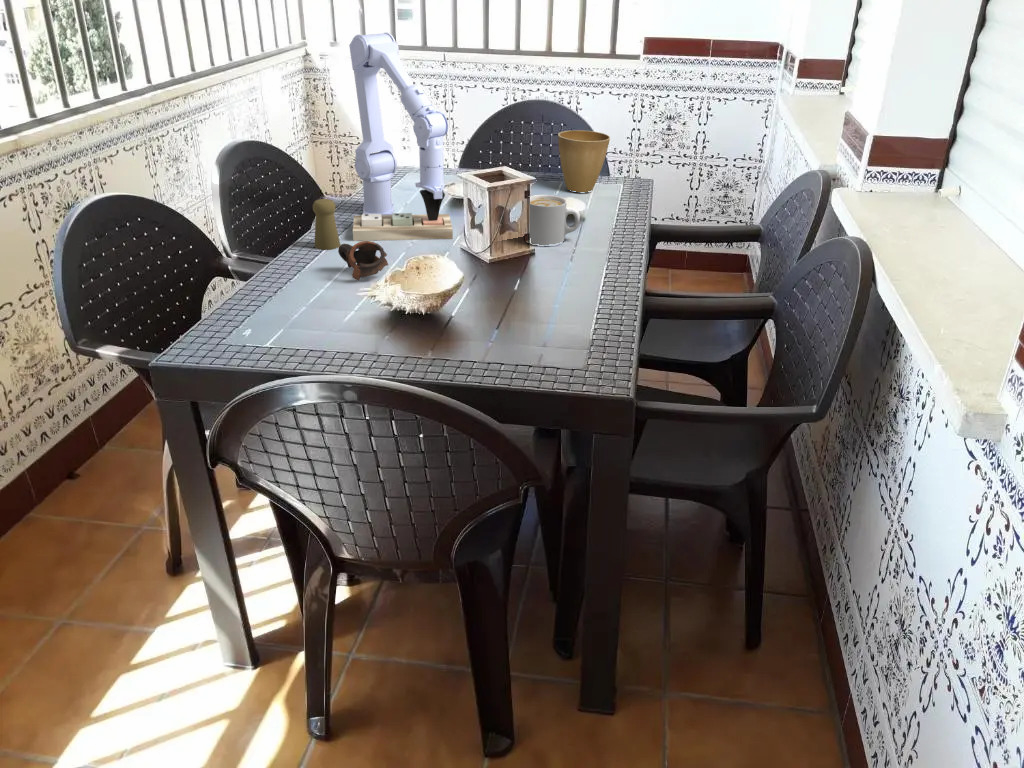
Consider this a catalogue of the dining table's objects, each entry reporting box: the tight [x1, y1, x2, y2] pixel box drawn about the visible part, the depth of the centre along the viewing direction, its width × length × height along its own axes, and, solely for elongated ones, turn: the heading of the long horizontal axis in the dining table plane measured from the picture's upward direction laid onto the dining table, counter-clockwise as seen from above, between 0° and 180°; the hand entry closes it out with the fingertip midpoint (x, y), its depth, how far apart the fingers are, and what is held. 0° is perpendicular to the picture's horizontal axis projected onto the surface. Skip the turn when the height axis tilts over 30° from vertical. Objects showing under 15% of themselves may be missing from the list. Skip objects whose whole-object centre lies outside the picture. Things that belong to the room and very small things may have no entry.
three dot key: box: [392, 212, 413, 226], centre depth 204 cm, size 5×5×3 cm
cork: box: [312, 198, 341, 251], centre depth 192 cm, size 6×6×11 cm
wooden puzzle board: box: [352, 213, 454, 242], centre depth 204 cm, size 12×24×2 cm, turn 98°
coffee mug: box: [529, 194, 581, 245], centre depth 200 cm, size 13×10×10 cm
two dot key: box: [361, 213, 382, 226], centre depth 203 cm, size 5×5×3 cm
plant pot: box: [557, 129, 611, 192], centre depth 239 cm, size 15×15×16 cm
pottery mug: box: [337, 240, 389, 281], centre depth 179 cm, size 12×10×8 cm
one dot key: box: [423, 217, 443, 225], centre depth 205 cm, size 5×5×3 cm
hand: (432, 219), depth 204 cm, fingers closed, pressing on one dot key
